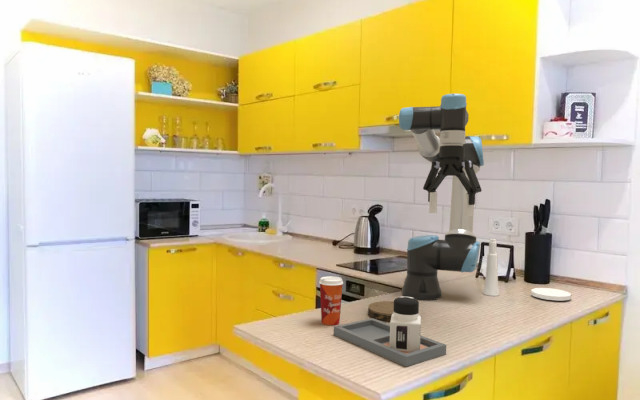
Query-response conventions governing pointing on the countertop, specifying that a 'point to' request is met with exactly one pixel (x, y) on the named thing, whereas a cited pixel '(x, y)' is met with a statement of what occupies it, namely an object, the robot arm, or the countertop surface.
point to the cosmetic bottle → (491, 271)
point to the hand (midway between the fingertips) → (450, 214)
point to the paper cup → (330, 299)
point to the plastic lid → (551, 294)
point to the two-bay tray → (387, 342)
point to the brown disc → (381, 310)
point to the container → (405, 325)
